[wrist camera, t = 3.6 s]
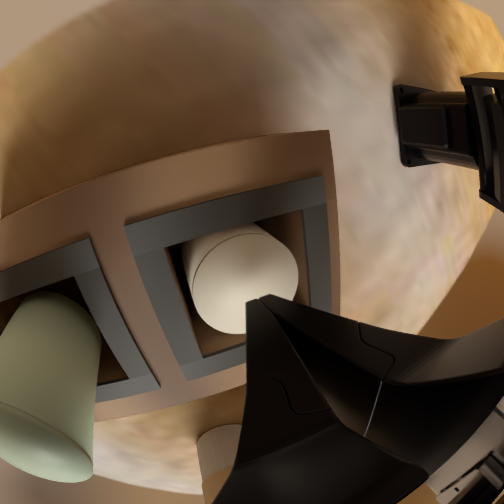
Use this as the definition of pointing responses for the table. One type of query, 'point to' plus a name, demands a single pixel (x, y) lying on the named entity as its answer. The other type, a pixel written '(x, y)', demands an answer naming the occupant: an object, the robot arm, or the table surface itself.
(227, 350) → the walnut block
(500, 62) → the table surface
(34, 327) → the sage peg
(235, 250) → the cream peg
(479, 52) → the table surface
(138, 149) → the table surface
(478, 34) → the table surface
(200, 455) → the coffee cup
